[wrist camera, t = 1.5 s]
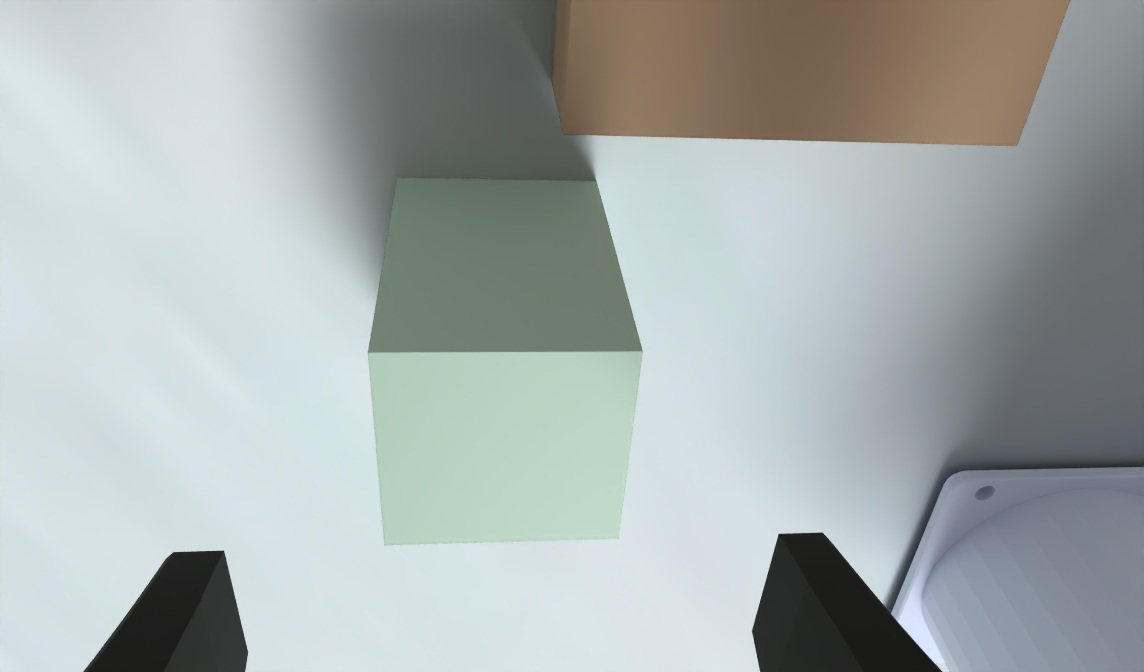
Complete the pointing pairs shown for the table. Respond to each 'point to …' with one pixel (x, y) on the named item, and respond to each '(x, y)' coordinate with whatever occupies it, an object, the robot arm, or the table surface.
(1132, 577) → the robot arm
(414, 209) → the green block
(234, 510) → the table surface
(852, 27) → the walnut plinth
